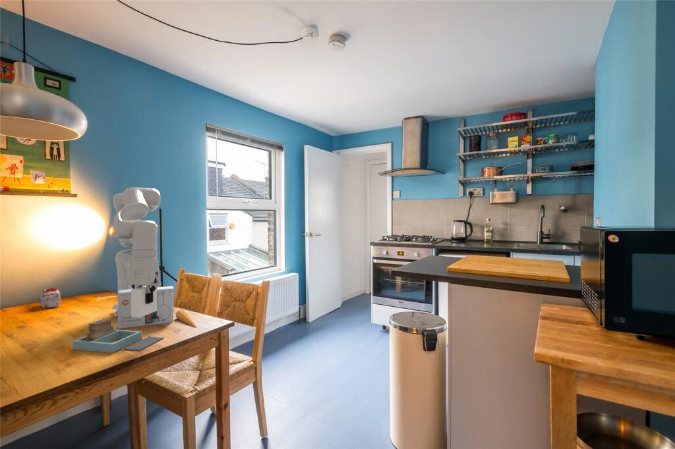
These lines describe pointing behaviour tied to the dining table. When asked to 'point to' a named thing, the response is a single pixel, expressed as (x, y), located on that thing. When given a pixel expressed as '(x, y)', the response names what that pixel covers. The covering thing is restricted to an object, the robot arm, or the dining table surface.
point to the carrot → (184, 317)
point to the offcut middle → (100, 333)
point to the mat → (143, 343)
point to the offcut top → (99, 324)
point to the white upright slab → (142, 302)
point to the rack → (108, 341)
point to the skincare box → (157, 317)
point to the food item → (50, 298)
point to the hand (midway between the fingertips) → (144, 302)
